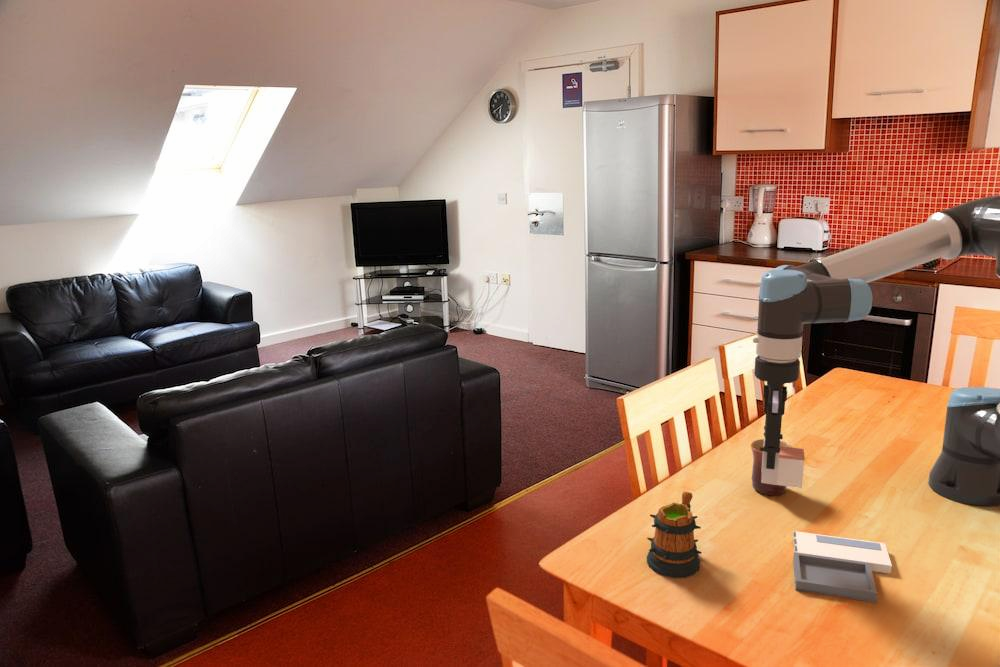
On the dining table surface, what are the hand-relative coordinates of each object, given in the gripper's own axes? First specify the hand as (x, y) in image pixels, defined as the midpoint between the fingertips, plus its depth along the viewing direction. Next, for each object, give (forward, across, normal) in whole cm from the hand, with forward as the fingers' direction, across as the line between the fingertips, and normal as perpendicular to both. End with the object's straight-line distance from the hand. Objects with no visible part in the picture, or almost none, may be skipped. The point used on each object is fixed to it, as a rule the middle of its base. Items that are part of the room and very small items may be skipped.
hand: (768, 477), depth 139 cm
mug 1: (+15, +10, -16) cm, 23 cm away
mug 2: (+15, -24, +1) cm, 28 cm away
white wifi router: (+15, -1, +13) cm, 20 cm away
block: (0, 0, +3) cm, 3 cm away
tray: (+15, +8, +12) cm, 20 cm away
